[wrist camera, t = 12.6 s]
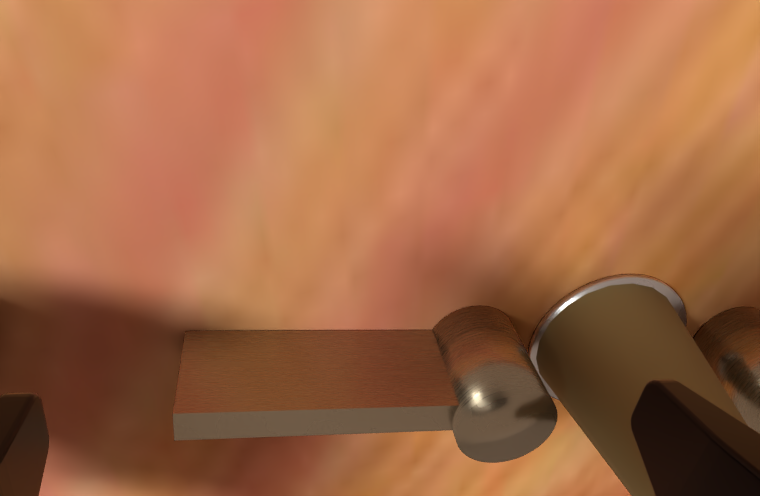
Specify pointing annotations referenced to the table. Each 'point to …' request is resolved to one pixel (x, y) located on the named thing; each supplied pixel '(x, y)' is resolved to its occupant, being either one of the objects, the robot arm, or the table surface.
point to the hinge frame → (417, 378)
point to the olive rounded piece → (621, 368)
